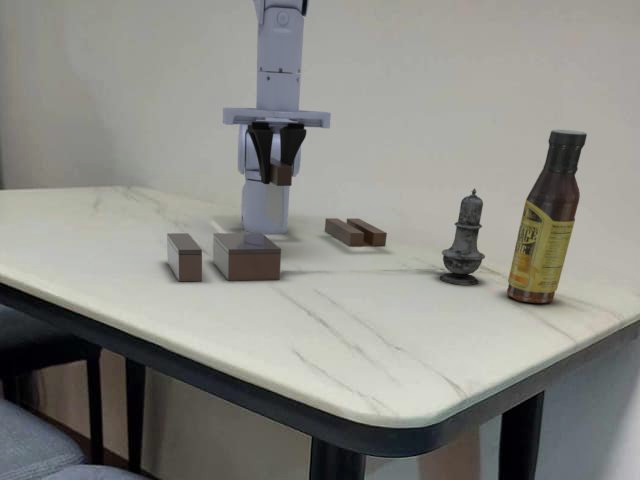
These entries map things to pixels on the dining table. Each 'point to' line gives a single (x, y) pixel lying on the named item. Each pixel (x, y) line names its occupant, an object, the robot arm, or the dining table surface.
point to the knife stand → (355, 232)
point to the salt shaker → (465, 244)
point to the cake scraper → (277, 190)
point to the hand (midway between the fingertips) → (274, 183)
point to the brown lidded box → (246, 256)
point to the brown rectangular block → (184, 257)
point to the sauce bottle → (547, 222)
